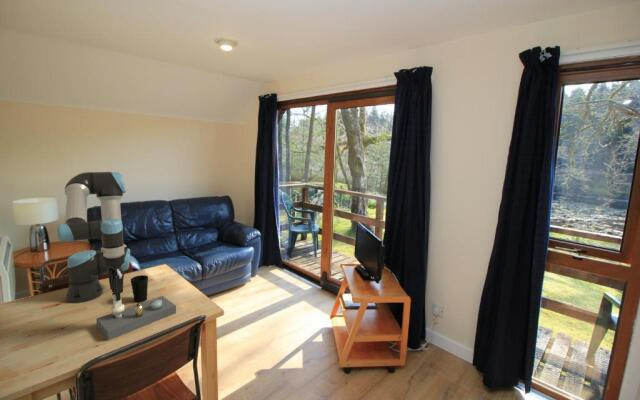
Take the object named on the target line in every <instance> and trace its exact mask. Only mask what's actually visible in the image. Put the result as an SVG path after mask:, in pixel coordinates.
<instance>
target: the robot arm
mask: <svg viewBox="0 0 640 400" xmlns="http://www.w3.org/2000/svg"><path fill="white" fill-rule="evenodd" d="M125 193H126V186H125V182H124V178H123V175H122V174H121V173H120V172H118V171H95V172H93V171H85V172H81V173H79V174H77V175H74V176H73V177H71V178H70V180H69V181H68V182H66V184H65V187H64V194H65V196H66V203H65V214H64V215H65V217H64V223H61V224H58V225H57V228H56V229H57V230H56V231H57V238H58V241H59V242H62V243H63V242H74V241H75V242H76V241H83V240H84V241H85V240H91V239H92V240H93V239H101V244H102V245H101V246H102V247H101V248H100V252H97V251H96V250H94V249H87V250H82V251H79V252H76V253H73V254H72V255H70V256H69V257H68V258H67V270H68V279H69V280H68V281H69V282H68V283H69V285H68V289H67V293H66V297H65V298H66V301H67V303H73V304H74V303H76V304H77V303H78V304H79V303H85V302H90V301H92V300H94V299H95V300H96V299H97V298H99V297H101V296H102V295H103V294H104V287H103V286H102V284H101V282H100V280H99V276H100V275H106V274H107V276H108V277H107V278H108V282H109V289H110V291H111V294H112V301H113V306H114V308H117V307H120V306H122V304H123V303H122V302H123V301H122V294H123V292H124V277H125V274H124V273H122V272H123V271H127V270H128V269H129V268H130V261H131V259H130V258H131V249H130V248H128V246H127V245H126V244H125V243H124V228H123V227H124V226H123V221H122V213H121V212H122V211H121V210H122V209H121V199H122V198H124V195H123V194H125ZM89 195H96V199H98V200H99V201H100V212H101V213H100V214H101V220H94V221H88V196H89Z"/></svg>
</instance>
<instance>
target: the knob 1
mask: <svg viewBox="0 0 640 400" xmlns="http://www.w3.org/2000/svg"><path fill="white" fill-rule="evenodd" d="M110 309H111V313H112V314H114V315H115V319H117V318H120V317H122V313H123V312H124V311H125V309H126V308H125V304H124V303H122V306H120V307H117V308H114V305H112V306H111V307H110Z"/></svg>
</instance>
